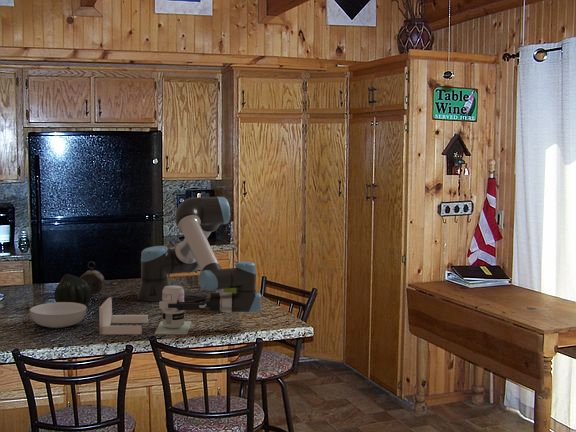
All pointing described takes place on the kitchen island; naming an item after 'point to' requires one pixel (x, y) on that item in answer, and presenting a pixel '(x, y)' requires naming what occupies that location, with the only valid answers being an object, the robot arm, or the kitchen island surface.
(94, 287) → the alarm clock
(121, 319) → the open box
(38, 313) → the serving bowl
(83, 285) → the squash
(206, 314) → the kitchen island surface
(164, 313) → the supplement can
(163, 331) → the sage mat
